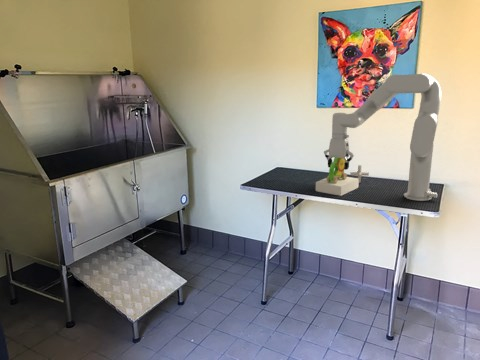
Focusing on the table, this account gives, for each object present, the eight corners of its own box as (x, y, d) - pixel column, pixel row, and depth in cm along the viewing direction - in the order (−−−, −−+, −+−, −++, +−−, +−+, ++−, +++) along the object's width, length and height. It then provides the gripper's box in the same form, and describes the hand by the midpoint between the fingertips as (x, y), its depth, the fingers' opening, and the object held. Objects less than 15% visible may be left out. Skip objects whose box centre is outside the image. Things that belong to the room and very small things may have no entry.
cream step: (358, 187, 219) (358, 178, 218) (340, 195, 205) (341, 186, 204) (334, 183, 229) (334, 174, 228) (315, 190, 215) (315, 182, 214)
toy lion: (335, 184, 208) (336, 155, 205) (325, 182, 212) (326, 154, 208) (349, 178, 220) (350, 151, 216) (340, 176, 223) (341, 150, 220)
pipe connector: (368, 184, 224) (369, 167, 221) (350, 184, 226) (351, 167, 223) (367, 180, 233) (368, 163, 231) (349, 180, 235) (350, 163, 233)
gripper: (357, 136, 207) (356, 168, 211) (328, 134, 218) (327, 164, 222) (351, 138, 202) (349, 171, 206) (321, 136, 213) (320, 167, 217)
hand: (338, 168), depth 214 cm, fingers open, 9 cm apart
